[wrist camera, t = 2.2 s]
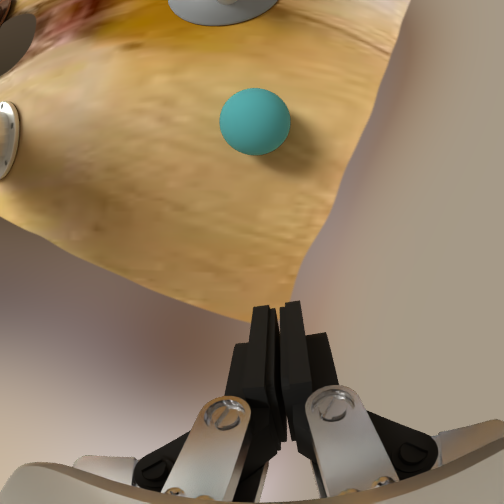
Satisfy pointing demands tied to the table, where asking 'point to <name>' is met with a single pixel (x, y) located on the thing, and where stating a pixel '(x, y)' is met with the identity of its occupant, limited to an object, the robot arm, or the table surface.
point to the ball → (255, 121)
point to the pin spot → (219, 11)
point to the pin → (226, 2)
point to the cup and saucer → (4, 9)
